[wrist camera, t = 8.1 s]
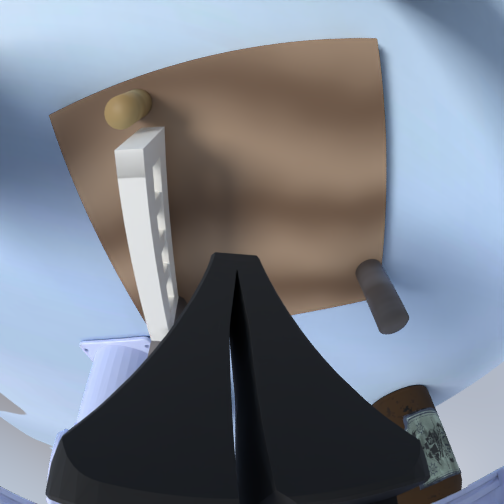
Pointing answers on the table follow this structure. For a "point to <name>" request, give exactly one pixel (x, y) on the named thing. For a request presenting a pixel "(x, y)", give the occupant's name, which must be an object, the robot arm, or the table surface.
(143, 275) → the gate
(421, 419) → the olive oil
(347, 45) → the board
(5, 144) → the table surface
